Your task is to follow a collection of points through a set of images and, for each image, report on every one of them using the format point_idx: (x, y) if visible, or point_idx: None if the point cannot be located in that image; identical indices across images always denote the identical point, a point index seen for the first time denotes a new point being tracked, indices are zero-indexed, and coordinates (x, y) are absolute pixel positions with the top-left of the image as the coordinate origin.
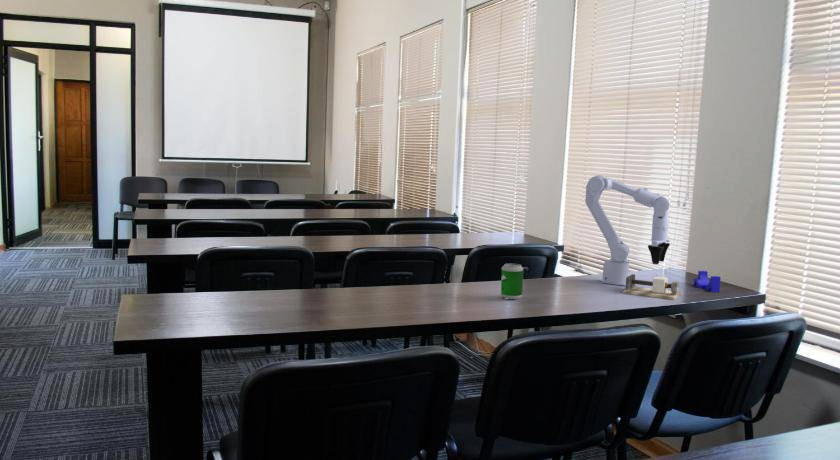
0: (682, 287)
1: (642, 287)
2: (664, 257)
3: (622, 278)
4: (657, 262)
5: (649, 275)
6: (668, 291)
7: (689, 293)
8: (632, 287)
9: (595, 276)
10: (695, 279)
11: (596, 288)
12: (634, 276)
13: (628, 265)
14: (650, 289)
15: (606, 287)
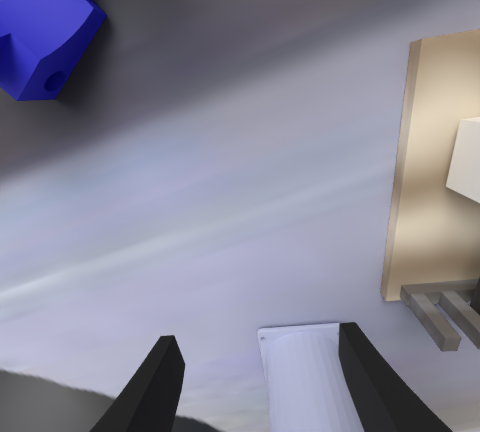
0: (171, 127)
1: (395, 258)
2: (149, 366)
3: (338, 360)
4: (365, 341)
5: (51, 329)
6: (439, 116)
7: (325, 9)
8: (445, 284)
9: (236, 419)
10: (31, 81)
11: (449, 367)
12: (453, 329)
13: (320, 421)
14: (429, 214)
15: (409, 353)
